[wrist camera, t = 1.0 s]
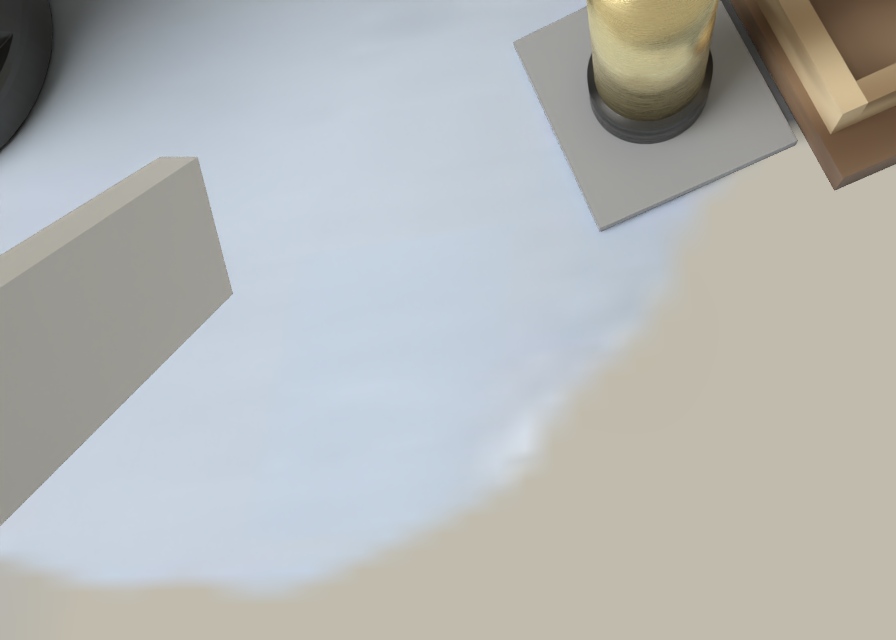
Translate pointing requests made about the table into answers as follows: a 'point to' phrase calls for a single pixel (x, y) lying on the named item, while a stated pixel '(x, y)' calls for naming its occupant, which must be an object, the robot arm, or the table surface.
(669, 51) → the gold metal cylinder
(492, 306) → the table surface
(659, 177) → the mat
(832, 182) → the brown wooden flat tray
